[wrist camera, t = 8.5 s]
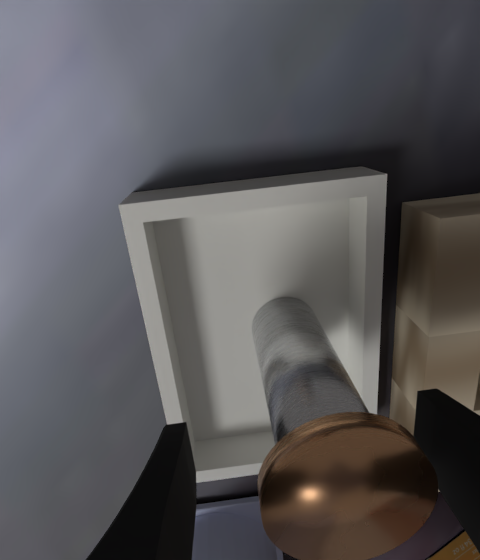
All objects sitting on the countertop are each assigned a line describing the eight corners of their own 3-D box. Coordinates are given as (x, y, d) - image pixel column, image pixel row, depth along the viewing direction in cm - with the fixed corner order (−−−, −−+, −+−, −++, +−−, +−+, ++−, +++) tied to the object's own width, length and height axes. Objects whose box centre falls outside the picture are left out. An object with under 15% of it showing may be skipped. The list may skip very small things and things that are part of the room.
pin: (332, 360, 19) (431, 550, 10) (242, 373, 19) (269, 575, 10) (329, 275, 17) (445, 423, 9) (230, 289, 17) (252, 452, 9)
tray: (356, 421, 21) (375, 458, 19) (183, 444, 21) (180, 484, 19) (361, 166, 16) (387, 174, 14) (131, 192, 16) (118, 205, 13)
